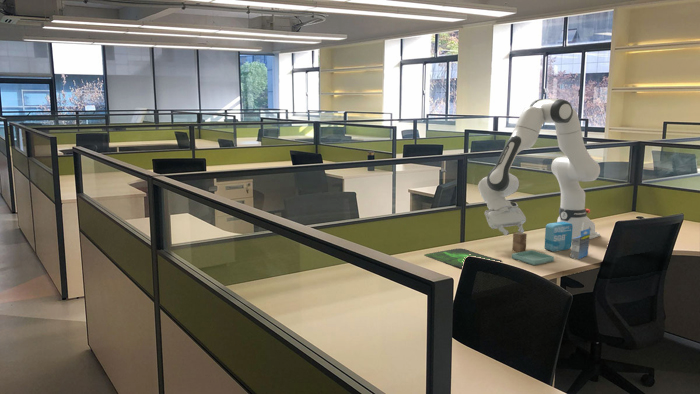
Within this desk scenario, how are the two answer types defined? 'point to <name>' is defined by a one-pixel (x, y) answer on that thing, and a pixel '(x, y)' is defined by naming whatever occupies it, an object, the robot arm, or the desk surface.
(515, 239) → the walnut block
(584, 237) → the label tape box
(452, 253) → the mouse mat
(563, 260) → the desk surface
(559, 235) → the blue soap box
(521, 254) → the teal tray
